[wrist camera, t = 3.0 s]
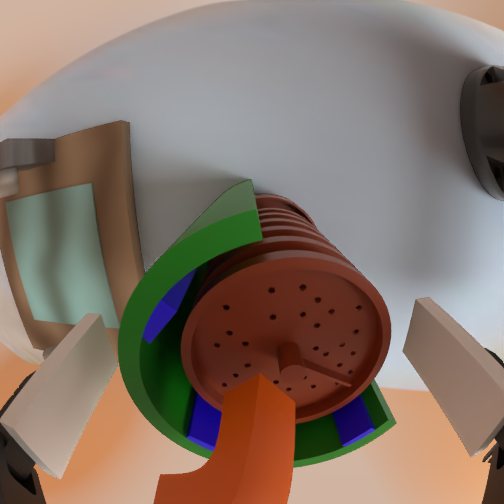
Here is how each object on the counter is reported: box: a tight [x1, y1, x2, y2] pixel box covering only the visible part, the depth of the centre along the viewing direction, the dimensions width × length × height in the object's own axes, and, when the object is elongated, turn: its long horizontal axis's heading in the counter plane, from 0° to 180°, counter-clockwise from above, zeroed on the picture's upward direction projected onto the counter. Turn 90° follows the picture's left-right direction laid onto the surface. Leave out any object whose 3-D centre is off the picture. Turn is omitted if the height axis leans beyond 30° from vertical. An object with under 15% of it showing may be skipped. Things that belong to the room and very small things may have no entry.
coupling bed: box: [0, 120, 145, 363], centre depth 19 cm, size 18×22×8 cm
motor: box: [118, 180, 396, 504], centre depth 13 cm, size 10×9×20 cm
